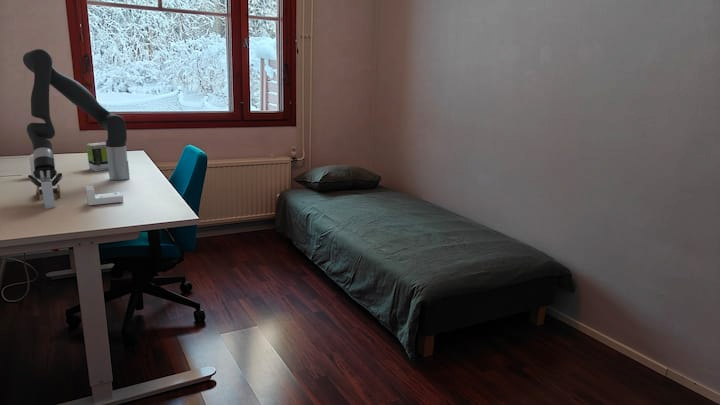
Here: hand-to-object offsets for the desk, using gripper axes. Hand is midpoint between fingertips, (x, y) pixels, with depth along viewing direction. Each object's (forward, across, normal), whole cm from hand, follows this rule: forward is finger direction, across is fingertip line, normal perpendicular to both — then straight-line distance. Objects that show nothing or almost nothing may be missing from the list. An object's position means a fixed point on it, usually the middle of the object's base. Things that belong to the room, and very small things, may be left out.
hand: (47, 193), depth 205 cm
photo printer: (-40, -3, +46) cm, 61 cm away
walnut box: (-6, 0, +11) cm, 12 cm away
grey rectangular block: (+7, 0, -1) cm, 7 cm away
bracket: (+11, +21, -5) cm, 24 cm away
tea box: (-47, +27, +53) cm, 76 cm away
